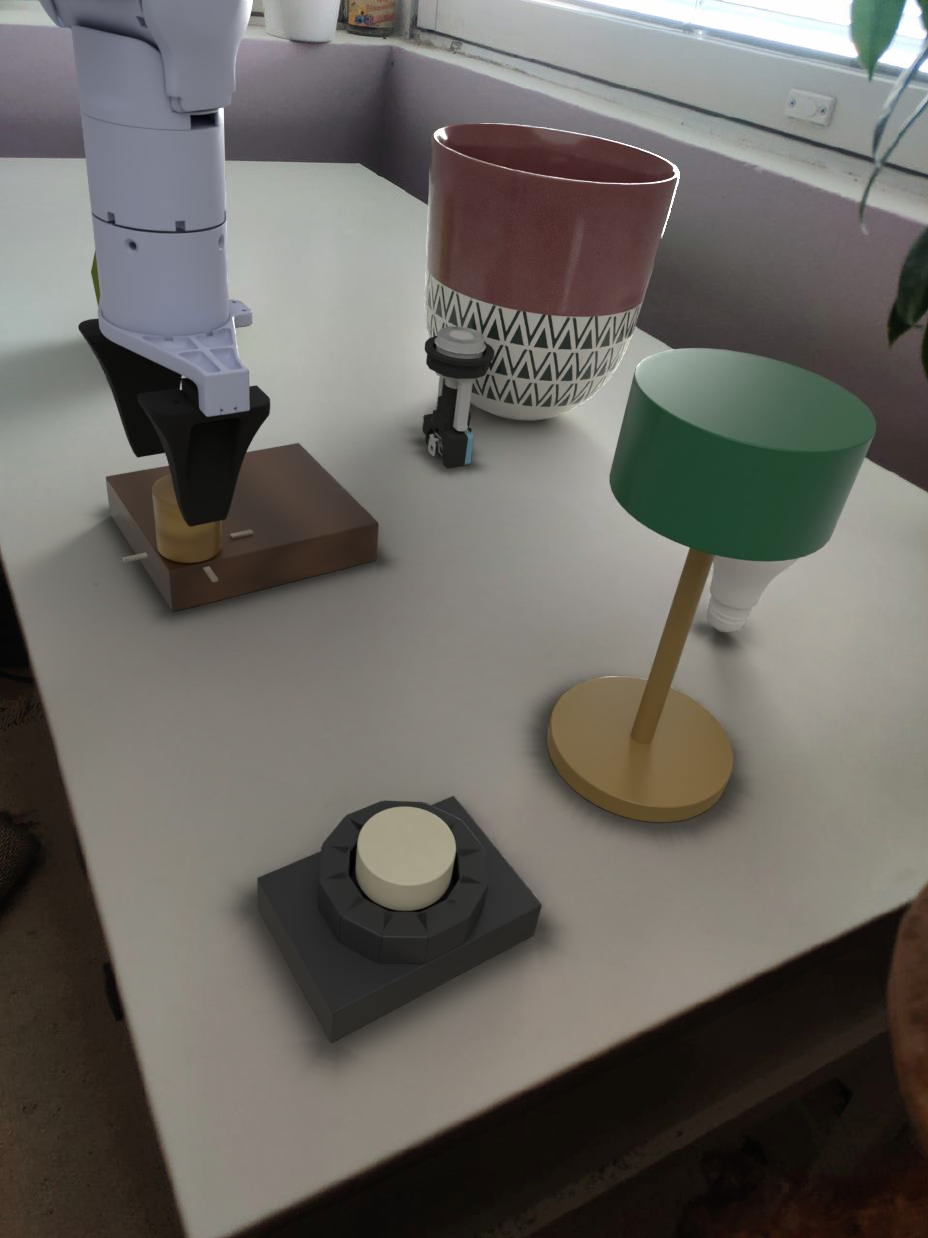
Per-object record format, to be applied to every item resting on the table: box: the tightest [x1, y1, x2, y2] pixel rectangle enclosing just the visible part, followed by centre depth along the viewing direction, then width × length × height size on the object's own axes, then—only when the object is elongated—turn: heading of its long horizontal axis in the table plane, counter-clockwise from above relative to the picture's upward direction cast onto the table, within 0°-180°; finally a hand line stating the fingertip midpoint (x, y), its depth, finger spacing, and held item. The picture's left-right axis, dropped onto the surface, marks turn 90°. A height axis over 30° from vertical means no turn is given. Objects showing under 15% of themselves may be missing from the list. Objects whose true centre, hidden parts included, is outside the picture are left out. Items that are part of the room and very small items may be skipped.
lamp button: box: [355, 807, 456, 911], centre depth 38 cm, size 4×4×2 cm
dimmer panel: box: [105, 442, 380, 612], centre depth 61 cm, size 16×14×3 cm
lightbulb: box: [705, 555, 800, 633], centre depth 58 cm, size 6×6×11 cm
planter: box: [424, 122, 680, 421], centre depth 79 cm, size 20×20×21 cm
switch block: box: [256, 795, 543, 1043], centre depth 40 cm, size 10×7×4 cm
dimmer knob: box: [152, 474, 222, 563], centre depth 55 cm, size 4×4×4 cm
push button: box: [420, 326, 494, 468], centre depth 74 cm, size 7×5×10 cm
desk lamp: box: [546, 347, 877, 823], centre depth 45 cm, size 10×10×21 cm
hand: (178, 484), depth 50 cm, fingers open, 7 cm apart
